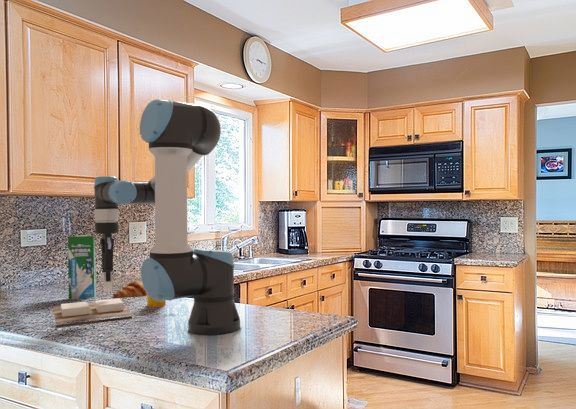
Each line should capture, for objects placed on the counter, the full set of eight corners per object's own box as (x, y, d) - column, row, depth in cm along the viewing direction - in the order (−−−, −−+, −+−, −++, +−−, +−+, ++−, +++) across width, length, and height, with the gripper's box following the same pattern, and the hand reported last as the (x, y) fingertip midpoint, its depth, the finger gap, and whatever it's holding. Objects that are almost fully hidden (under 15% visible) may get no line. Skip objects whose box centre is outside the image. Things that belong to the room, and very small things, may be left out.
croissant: (158, 301, 199) (153, 283, 202) (171, 292, 193) (165, 274, 196) (110, 308, 184) (105, 289, 186) (122, 299, 178) (117, 279, 180)
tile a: (87, 309, 162) (89, 314, 154) (60, 311, 158) (62, 317, 150) (86, 301, 162) (89, 306, 154) (60, 304, 158) (62, 309, 150)
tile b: (119, 305, 167) (123, 310, 159) (94, 308, 163) (97, 313, 155) (119, 298, 167) (123, 302, 159) (94, 300, 163) (97, 305, 155)
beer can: (160, 311, 164) (160, 267, 164) (144, 310, 165) (143, 267, 165) (168, 307, 170) (167, 265, 170) (152, 307, 171) (152, 265, 171)
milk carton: (95, 296, 193) (95, 234, 193) (94, 300, 185) (93, 235, 185) (71, 297, 191) (70, 235, 190) (68, 302, 182) (67, 236, 182)
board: (132, 318, 154) (132, 314, 154) (56, 327, 144) (56, 322, 144) (119, 304, 177) (119, 300, 177) (53, 311, 167) (53, 306, 167)
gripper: (121, 221, 160) (122, 292, 160) (115, 220, 171) (116, 286, 171) (97, 222, 156) (98, 294, 156) (92, 221, 168) (93, 288, 168)
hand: (107, 290), depth 164 cm, fingers closed
